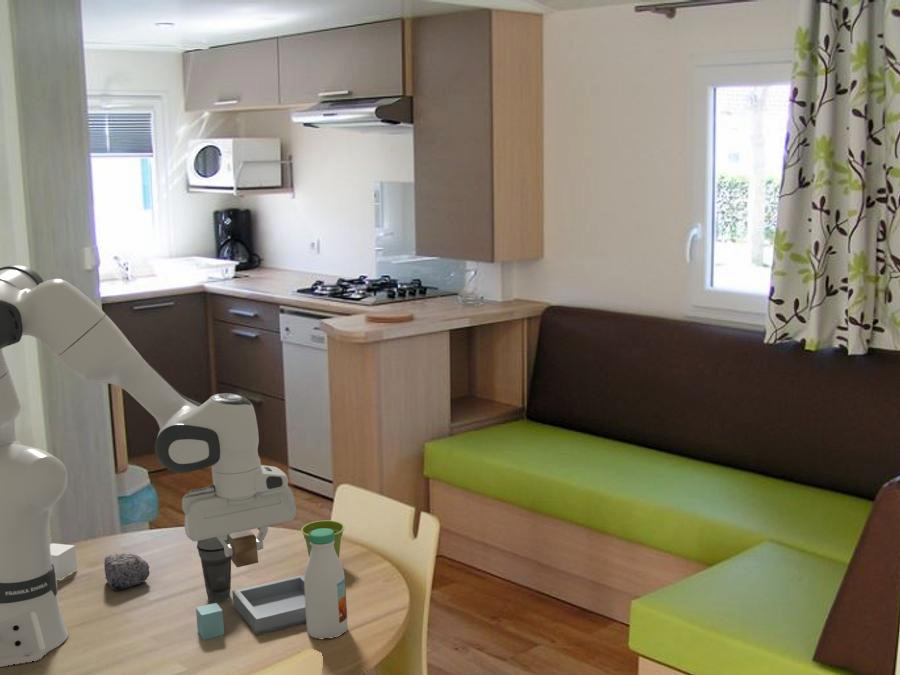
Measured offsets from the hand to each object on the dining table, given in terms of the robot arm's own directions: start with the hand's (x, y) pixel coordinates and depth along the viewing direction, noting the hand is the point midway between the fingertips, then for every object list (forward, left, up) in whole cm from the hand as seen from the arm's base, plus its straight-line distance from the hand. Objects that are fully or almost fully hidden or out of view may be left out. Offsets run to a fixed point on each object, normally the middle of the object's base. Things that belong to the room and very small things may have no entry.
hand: (244, 552), depth 201 cm
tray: (+10, +9, -18) cm, 22 cm away
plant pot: (+26, +26, -18) cm, 41 cm away
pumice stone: (-14, +39, -18) cm, 46 cm away
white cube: (-26, +53, -18) cm, 62 cm away
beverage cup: (+1, +22, -18) cm, 29 cm away
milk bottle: (+14, -4, -18) cm, 23 cm away
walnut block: (0, 0, -2) cm, 2 cm away
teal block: (-5, +7, -18) cm, 20 cm away
